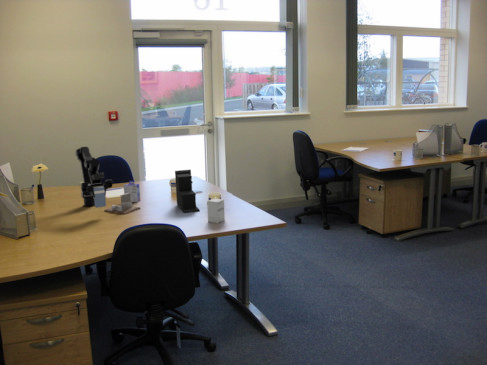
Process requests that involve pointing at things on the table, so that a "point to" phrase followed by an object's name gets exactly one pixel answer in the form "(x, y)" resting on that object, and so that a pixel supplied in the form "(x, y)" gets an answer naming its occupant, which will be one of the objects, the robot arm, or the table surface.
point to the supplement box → (215, 210)
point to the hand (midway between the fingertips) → (100, 196)
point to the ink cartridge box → (132, 191)
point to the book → (99, 197)
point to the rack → (123, 205)
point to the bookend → (185, 191)
